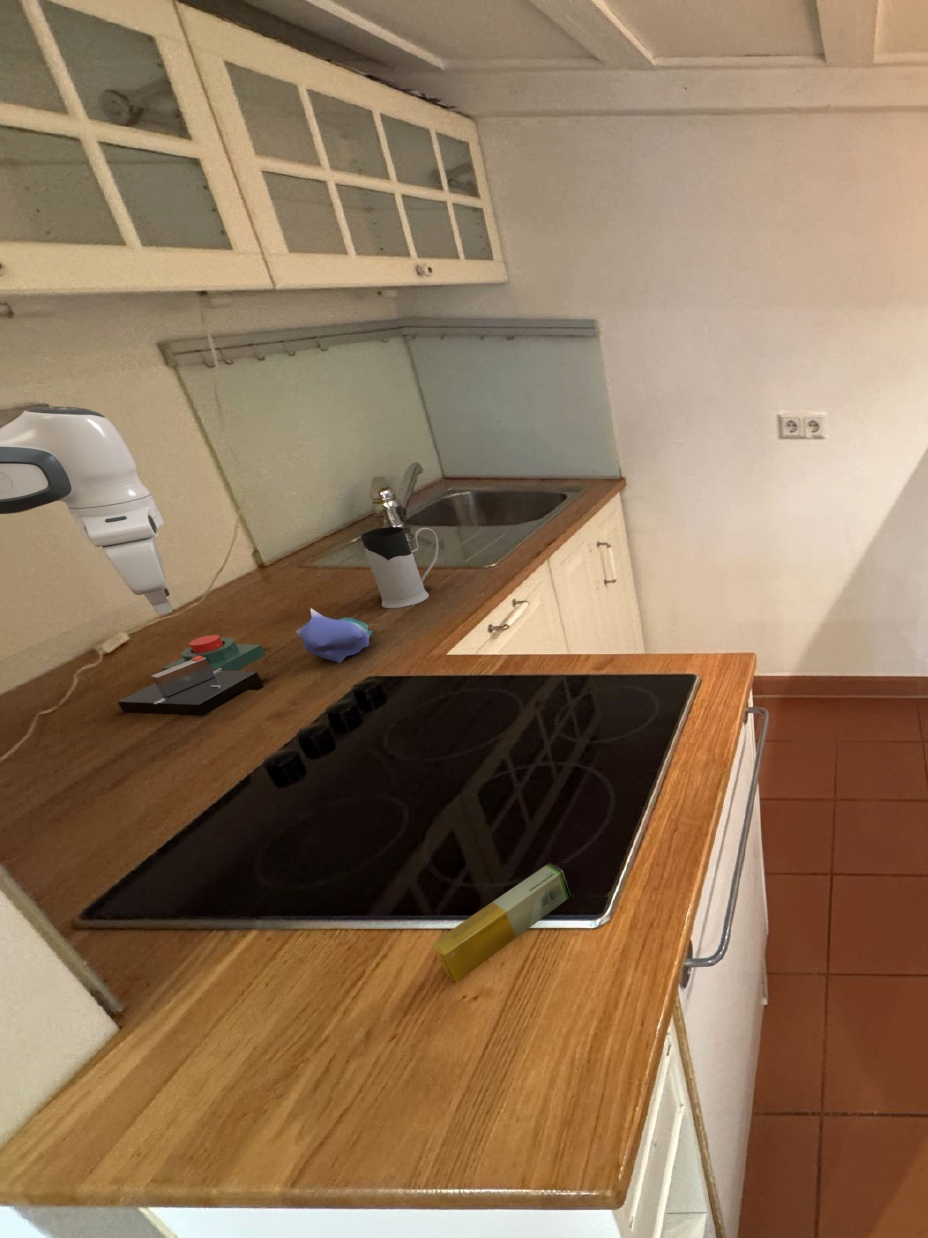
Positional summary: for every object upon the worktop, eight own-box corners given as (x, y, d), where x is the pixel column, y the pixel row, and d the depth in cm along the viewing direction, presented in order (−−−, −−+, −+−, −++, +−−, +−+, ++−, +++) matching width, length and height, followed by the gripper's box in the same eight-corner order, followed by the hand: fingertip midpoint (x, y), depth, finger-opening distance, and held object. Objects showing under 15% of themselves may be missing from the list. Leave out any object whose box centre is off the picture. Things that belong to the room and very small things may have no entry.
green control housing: (167, 679, 115) (156, 658, 114) (216, 654, 124) (207, 634, 122) (219, 680, 114) (208, 660, 113) (265, 655, 122) (256, 635, 121)
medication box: (560, 891, 71) (550, 860, 69) (575, 900, 69) (565, 869, 68) (443, 975, 62) (429, 942, 61) (457, 988, 60) (443, 954, 59)
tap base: (124, 719, 104) (113, 702, 103) (191, 683, 114) (183, 667, 112) (204, 722, 103) (195, 704, 101) (266, 685, 112) (258, 669, 111)
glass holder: (373, 602, 143) (348, 535, 136) (440, 580, 153) (420, 517, 147) (394, 611, 138) (369, 542, 132) (461, 588, 149) (441, 522, 142)
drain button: (187, 654, 116) (182, 645, 115) (209, 643, 119) (205, 634, 119) (208, 654, 115) (203, 645, 115) (229, 643, 119) (225, 634, 118)
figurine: (338, 676, 126) (345, 631, 128) (393, 667, 124) (398, 621, 126) (268, 660, 114) (277, 610, 116) (327, 649, 112) (335, 599, 114)
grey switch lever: (167, 696, 104) (156, 675, 102) (161, 695, 104) (149, 674, 103) (215, 676, 109) (205, 656, 108) (209, 675, 110) (199, 654, 108)
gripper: (92, 511, 105) (136, 592, 111) (87, 538, 92) (137, 629, 98) (147, 502, 109) (187, 581, 115) (150, 527, 95) (194, 615, 101)
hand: (164, 604), depth 106 cm, fingers open, 8 cm apart
